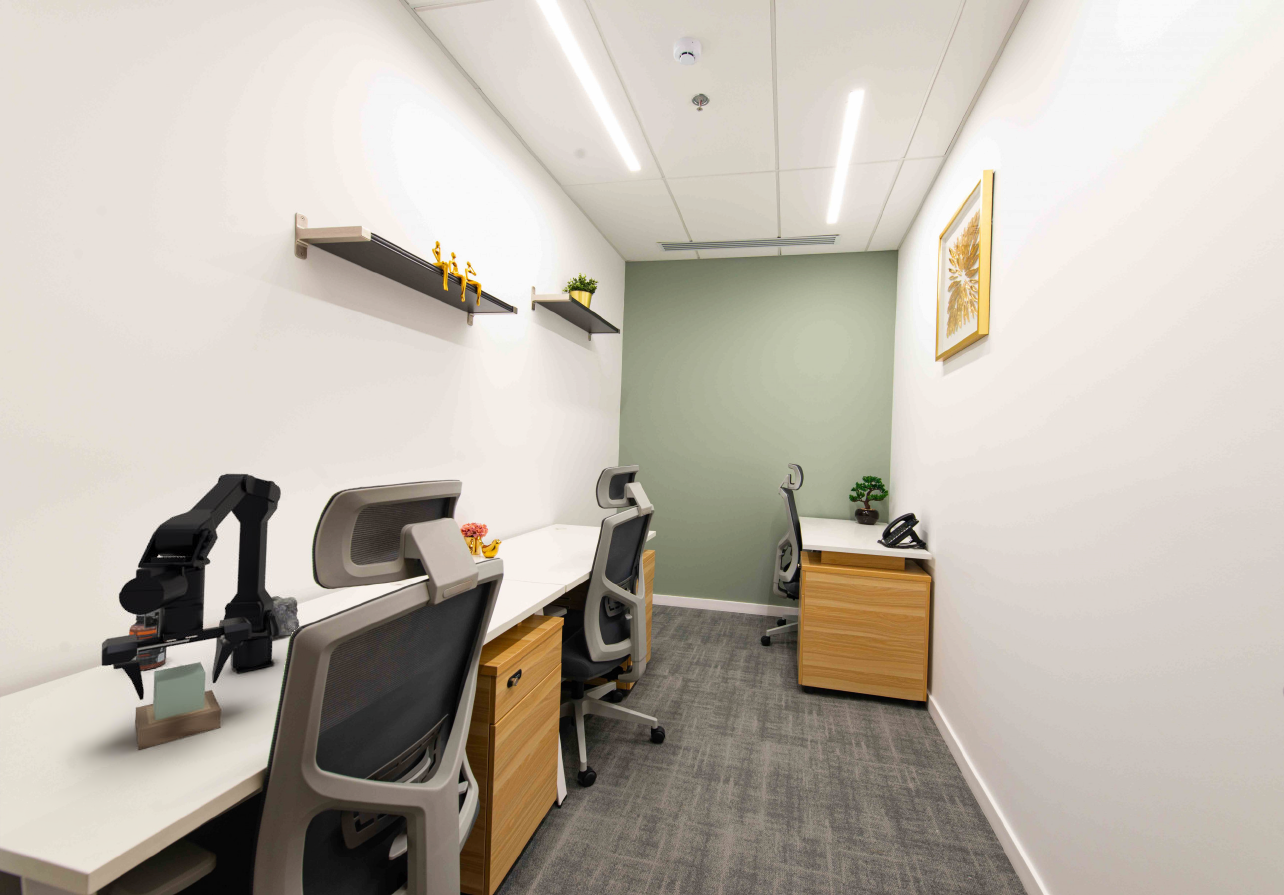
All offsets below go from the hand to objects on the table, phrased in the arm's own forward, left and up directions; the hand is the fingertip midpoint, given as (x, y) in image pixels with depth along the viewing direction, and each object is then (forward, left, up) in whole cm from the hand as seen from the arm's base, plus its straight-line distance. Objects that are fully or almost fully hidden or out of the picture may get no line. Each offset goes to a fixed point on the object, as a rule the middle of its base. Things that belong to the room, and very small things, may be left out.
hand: (179, 690), depth 90 cm
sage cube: (0, 0, -3) cm, 3 cm away
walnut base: (0, 0, -6) cm, 6 cm away
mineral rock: (-20, -40, -6) cm, 46 cm away
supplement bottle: (+2, -36, -6) cm, 37 cm away
